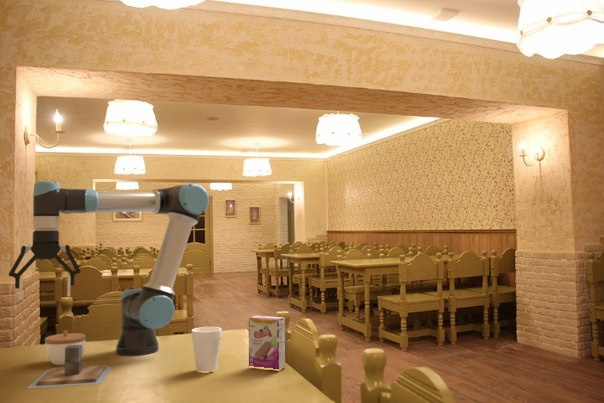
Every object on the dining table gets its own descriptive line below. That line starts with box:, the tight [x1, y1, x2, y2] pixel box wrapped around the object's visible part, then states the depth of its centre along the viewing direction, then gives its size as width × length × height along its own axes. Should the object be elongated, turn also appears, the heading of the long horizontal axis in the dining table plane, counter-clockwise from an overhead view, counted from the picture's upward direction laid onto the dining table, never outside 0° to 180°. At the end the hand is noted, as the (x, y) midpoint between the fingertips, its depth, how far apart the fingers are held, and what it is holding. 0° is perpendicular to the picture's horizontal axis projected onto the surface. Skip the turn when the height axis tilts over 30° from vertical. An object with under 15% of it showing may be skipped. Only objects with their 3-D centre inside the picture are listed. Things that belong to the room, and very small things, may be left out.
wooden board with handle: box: [37, 345, 107, 386], centre depth 159 cm, size 16×16×9 cm
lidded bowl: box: [44, 330, 87, 366], centre depth 177 cm, size 13×13×11 cm
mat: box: [27, 366, 114, 389], centre depth 159 cm, size 20×20×1 cm
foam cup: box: [191, 326, 223, 372], centre depth 166 cm, size 10×9×13 cm
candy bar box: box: [248, 315, 286, 369], centre depth 168 cm, size 11×5×16 cm, turn 65°
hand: (45, 297), depth 164 cm, fingers open, 13 cm apart
